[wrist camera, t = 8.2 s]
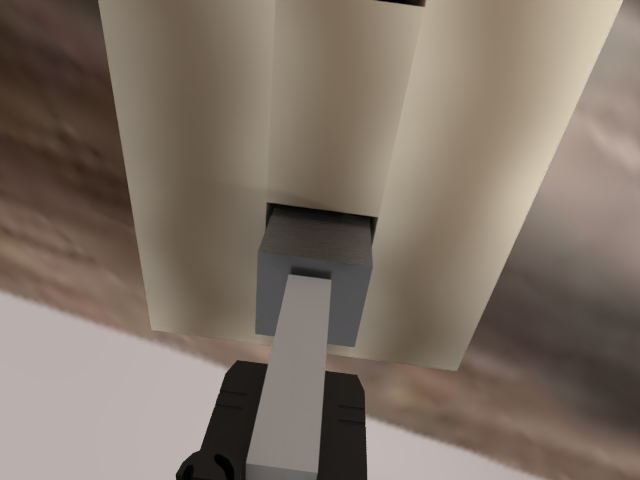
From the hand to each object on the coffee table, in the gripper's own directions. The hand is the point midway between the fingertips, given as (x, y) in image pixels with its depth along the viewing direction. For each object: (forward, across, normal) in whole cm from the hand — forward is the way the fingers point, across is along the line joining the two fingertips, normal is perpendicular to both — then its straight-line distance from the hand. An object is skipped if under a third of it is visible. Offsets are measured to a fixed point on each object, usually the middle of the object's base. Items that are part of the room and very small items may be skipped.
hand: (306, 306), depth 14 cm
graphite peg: (+6, 0, 0) cm, 6 cm away
